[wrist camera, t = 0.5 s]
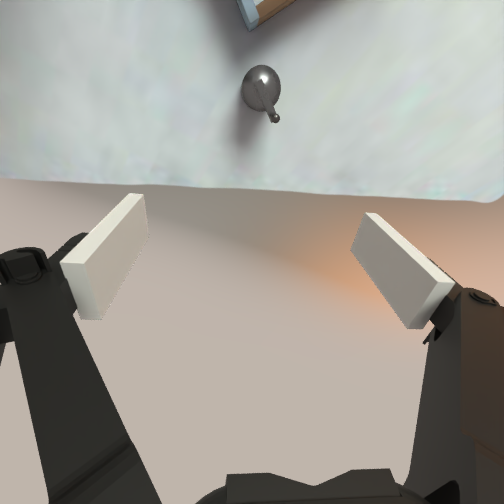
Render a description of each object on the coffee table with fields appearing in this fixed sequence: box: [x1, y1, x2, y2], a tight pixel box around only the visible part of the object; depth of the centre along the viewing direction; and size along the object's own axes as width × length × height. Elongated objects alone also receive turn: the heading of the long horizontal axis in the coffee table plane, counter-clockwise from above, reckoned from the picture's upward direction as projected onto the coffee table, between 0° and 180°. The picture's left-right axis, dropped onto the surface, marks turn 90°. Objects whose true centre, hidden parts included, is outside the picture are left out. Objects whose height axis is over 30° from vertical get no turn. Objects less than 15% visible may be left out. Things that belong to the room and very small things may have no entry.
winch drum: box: [241, 65, 281, 123], centre depth 34 cm, size 6×5×9 cm
